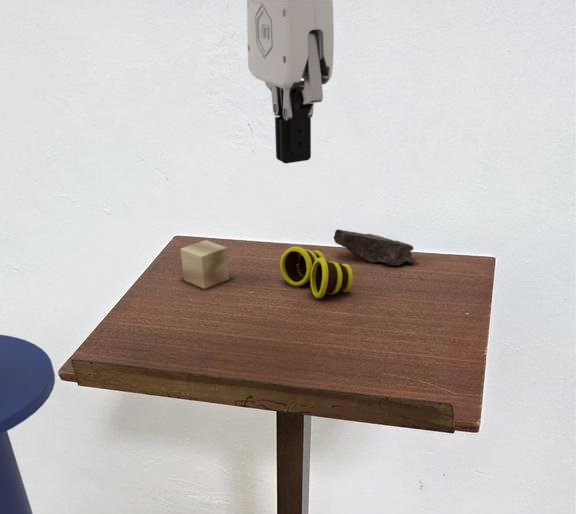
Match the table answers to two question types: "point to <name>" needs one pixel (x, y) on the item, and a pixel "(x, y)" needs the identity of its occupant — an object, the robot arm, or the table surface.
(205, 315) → the table surface
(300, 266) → the opera glasses
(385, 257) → the rock
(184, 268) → the pale wood block
